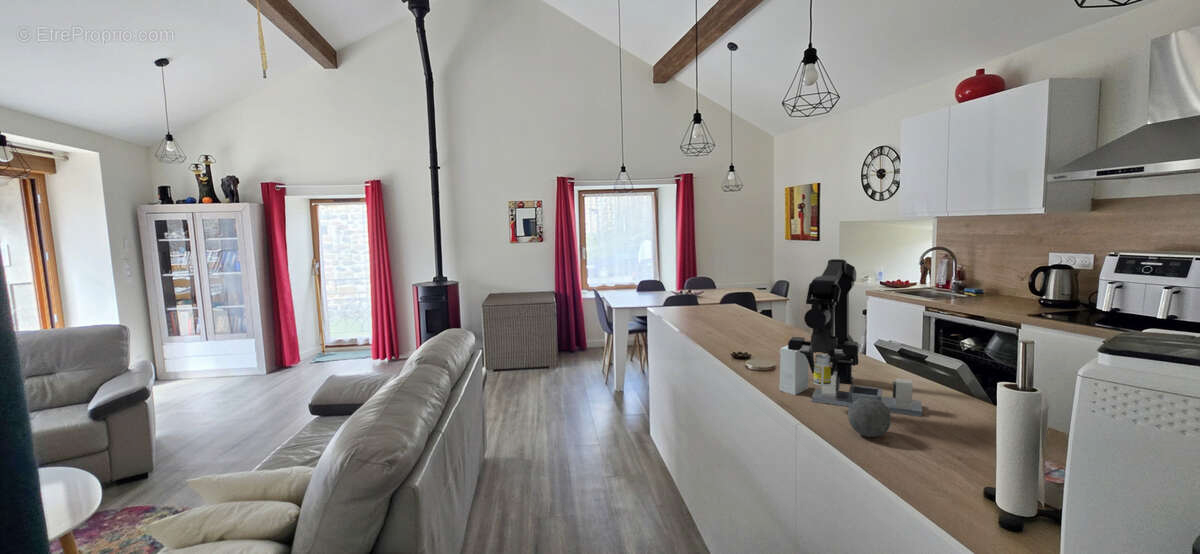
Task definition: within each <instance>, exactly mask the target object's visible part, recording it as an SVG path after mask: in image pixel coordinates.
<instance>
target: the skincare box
mask: <svg viewBox="0 0 1200 554" xmlns="http://www.w3.org/2000/svg"><path fill="white" fill-rule="evenodd" d="M800 351H801V349H800V350H789V349H788V344H787V345H785V346H782V347H780V352H779V354H780V355H779V356H780V357H779V360H780V361H779V363H780V364H779V391H780V392H782V393H787V394H791V395H794V396H796V395H798V394H800V393H802V392H804V391H806V390H808V389H809V368H810V365H809V362H808V360H807V358H806V356H805V355H804V354H803V353H800Z"/></svg>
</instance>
